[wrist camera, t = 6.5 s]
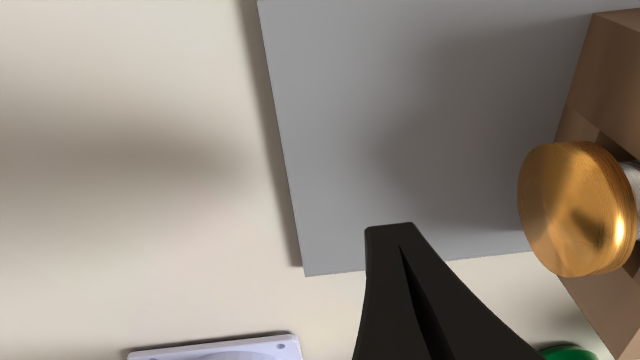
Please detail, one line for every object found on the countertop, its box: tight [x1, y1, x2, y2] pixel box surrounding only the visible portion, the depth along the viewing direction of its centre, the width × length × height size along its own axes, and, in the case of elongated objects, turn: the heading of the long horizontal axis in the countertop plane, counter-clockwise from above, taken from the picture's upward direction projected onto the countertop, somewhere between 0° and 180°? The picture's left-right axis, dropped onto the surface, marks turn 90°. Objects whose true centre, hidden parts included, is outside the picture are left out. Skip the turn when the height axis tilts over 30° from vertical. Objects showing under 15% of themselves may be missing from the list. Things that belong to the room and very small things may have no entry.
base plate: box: [257, 0, 640, 277], centre depth 15 cm, size 17×12×1 cm
